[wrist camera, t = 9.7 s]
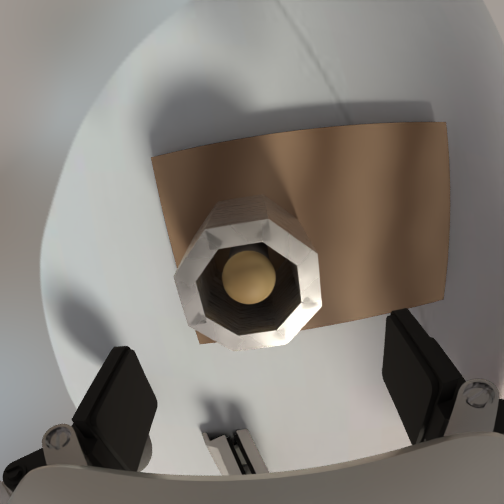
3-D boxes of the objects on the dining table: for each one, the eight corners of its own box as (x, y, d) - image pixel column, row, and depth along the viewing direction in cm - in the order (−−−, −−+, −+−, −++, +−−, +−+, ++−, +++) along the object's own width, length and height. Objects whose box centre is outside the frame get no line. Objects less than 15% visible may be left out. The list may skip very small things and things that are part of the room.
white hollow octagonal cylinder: (294, 189, 19) (313, 212, 14) (306, 286, 22) (323, 337, 16) (186, 207, 20) (162, 237, 14) (209, 301, 22) (197, 355, 16)
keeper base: (435, 122, 19) (498, 124, 12) (435, 291, 24) (479, 337, 17) (157, 155, 20) (115, 167, 13) (202, 333, 25) (188, 397, 18)
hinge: (200, 431, 30) (228, 505, 21) (241, 417, 31) (278, 487, 22) (233, 492, 35) (257, 545, 26) (263, 481, 37) (291, 532, 28)
